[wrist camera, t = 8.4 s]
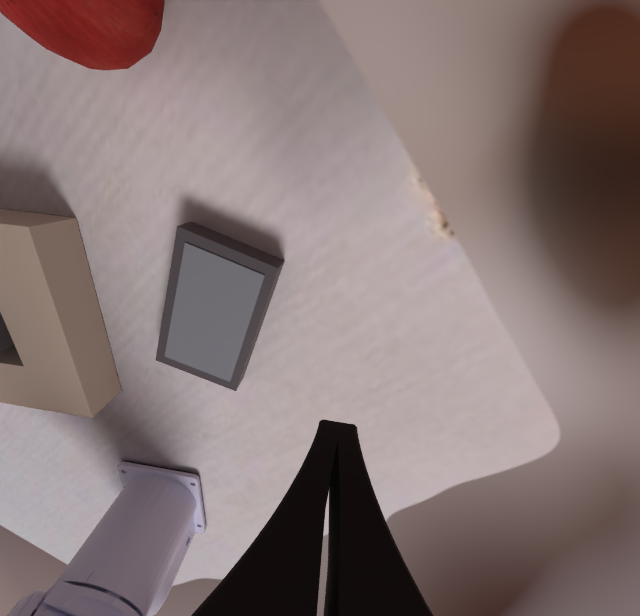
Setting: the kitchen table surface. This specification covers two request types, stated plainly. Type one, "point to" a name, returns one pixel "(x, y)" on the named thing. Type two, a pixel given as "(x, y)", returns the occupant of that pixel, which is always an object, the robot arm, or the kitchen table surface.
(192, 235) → the phone
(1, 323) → the block
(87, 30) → the onion
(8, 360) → the outlet plate
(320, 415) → the kitchen table surface
